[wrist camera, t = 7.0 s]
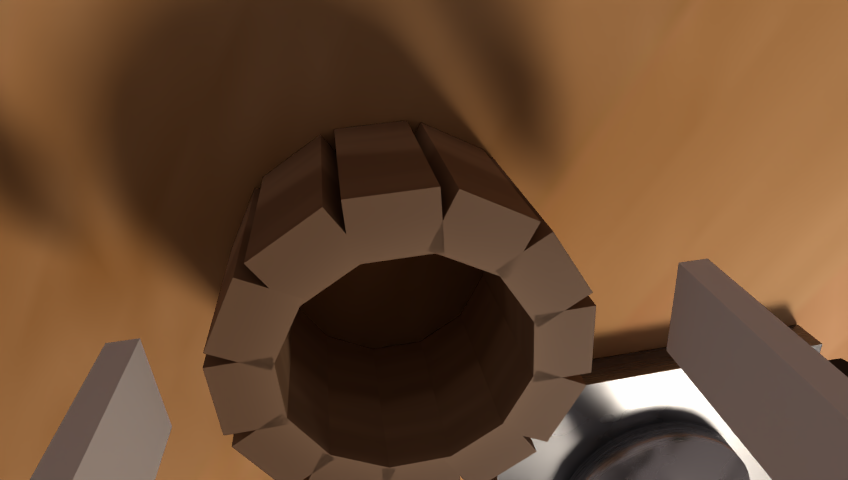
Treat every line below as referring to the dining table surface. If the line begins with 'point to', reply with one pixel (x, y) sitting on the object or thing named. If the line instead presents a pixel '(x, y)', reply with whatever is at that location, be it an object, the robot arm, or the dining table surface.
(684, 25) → the dining table surface
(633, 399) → the post
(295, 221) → the ring
